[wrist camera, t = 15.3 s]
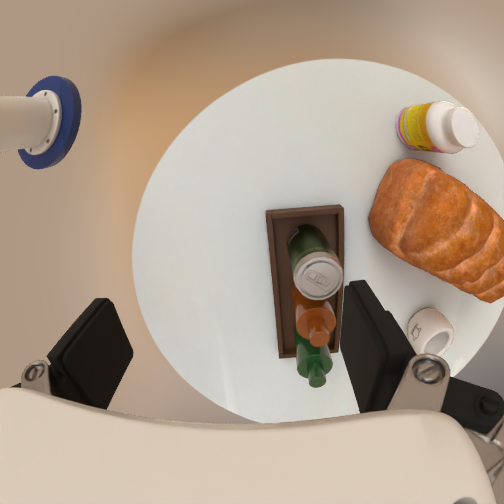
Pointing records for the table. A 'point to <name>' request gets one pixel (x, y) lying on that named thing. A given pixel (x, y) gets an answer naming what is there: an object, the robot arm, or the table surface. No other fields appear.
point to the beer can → (313, 263)
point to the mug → (430, 332)
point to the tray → (282, 277)
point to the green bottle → (312, 360)
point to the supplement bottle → (437, 127)
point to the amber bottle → (313, 318)
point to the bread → (440, 228)
